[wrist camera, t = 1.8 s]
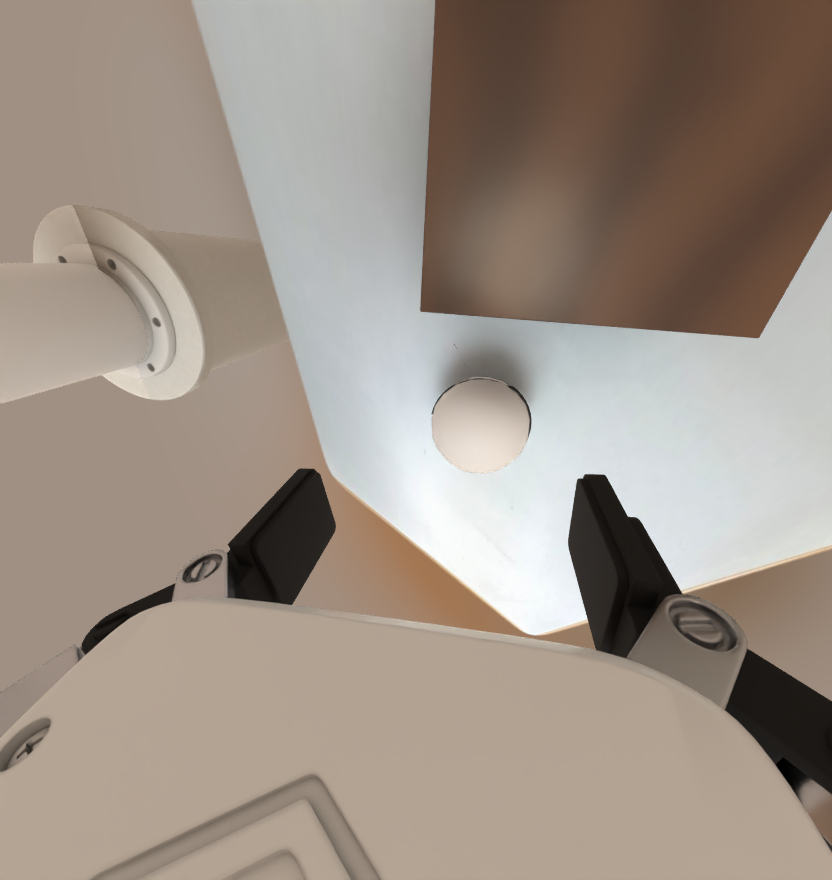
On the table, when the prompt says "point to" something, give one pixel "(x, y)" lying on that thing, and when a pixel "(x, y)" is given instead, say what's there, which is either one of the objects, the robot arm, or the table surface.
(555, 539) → the table surface
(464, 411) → the cream oval egg shape
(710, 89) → the shelf
